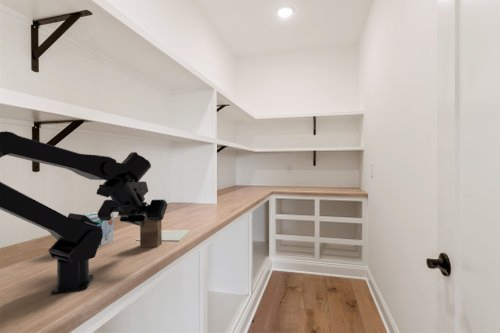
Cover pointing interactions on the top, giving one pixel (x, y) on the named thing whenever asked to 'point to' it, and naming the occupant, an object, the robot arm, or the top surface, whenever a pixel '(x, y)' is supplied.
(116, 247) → the top surface
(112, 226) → the light bulb box
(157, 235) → the walnut block
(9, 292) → the top surface
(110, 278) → the top surface
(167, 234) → the mat
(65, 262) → the robot arm
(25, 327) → the top surface
